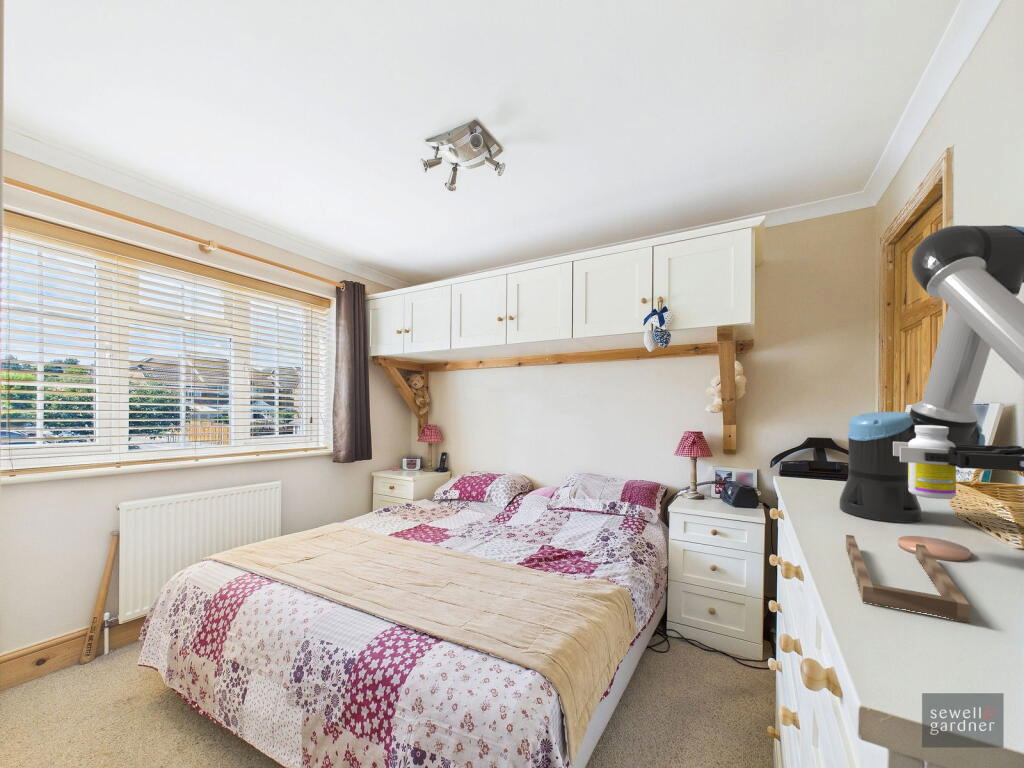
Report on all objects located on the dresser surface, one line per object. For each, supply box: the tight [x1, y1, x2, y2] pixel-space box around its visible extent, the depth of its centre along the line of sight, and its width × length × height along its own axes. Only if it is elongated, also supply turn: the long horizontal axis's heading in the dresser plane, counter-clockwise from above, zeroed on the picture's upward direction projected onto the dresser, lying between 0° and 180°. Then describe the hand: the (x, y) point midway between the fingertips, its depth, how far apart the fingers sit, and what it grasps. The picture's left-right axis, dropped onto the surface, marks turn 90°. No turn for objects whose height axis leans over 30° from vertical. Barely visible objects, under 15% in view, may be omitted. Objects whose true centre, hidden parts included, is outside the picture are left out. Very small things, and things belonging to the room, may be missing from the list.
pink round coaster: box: [897, 535, 971, 562], centre depth 88 cm, size 10×10×1 cm
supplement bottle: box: [908, 425, 957, 500], centre depth 88 cm, size 7×7×13 cm
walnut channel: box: [845, 534, 971, 624], centre depth 76 cm, size 25×11×2 cm, turn 149°
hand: (896, 451), depth 90 cm, fingers closed on supplement bottle, 7 cm apart
